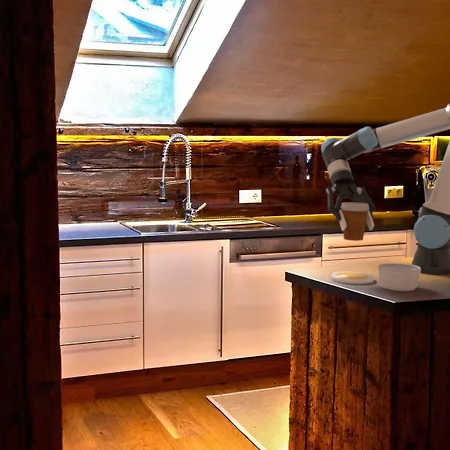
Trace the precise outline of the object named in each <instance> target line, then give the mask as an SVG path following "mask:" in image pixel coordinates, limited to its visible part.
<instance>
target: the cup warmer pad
mask: <svg viewBox="0 0 450 450" xmlns="http://www.w3.org/2000/svg"><path fill="white" fill-rule="evenodd" d="M330 277H331V278H330V280H331V281H333V282H335V283H340V284H345V285H367V284H369V285H370V284H372V283H374V282H375V281H374V279H375V276H374V275H373V274H371V273H367V272H361V271H344V270H343V271H335V272H332V273H331V276H330Z"/></svg>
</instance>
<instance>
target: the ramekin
mask: <svg viewBox="0 0 450 450" xmlns="http://www.w3.org/2000/svg"><path fill="white" fill-rule="evenodd" d="M377 269H378V278H379V279H378V280H379V284H380V286H381V287H382V288H383V289H386V290H388V291H389V290H390V291H396V292H397V291H399V292H410V291H414V290H416V289H417V288H418V286H419V280H420V275H421V268H420V267H418V266H415V265H411V264H409V263H401V262H399V263H398V262H397V263H395V262H388V263H387V262H386V263H380V264H378V267H377Z"/></svg>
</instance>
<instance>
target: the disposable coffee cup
mask: <svg viewBox="0 0 450 450" xmlns="http://www.w3.org/2000/svg"><path fill="white" fill-rule="evenodd" d="M369 209H370V208H369V205H368V204H367V203H358V202H355V201H352V202H351V201H350V202H349V201H347V202H341V204H340V210H342V212H343V215H344V218H345V221H346V225H347V226H346V228H345V230H344V231H342V232H343V233H342V234H343V240H345V241H352V242H353V241H355V242H357V241H358V242H359V241H361V242H362V241H363V240H364V236H365V229H366V225H367V222H366V220H367V214H368V211H369Z"/></svg>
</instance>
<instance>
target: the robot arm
mask: <svg viewBox="0 0 450 450" xmlns="http://www.w3.org/2000/svg"><path fill="white" fill-rule="evenodd" d="M448 130H450V103H448V104H447V106H446V107H444V108H439V109H437V110H434V111H430V112H428V113H423V114H419V115H417V116H413V117H411V118H406V119H403V120H399V121H397V122H393V123H390V124H387V125H383V126H379V127H376V128H373V129H372V127H371V126H365V127H363V128H360V129H358V130H357V131H355V132H354V133H352V134H350V135H348V136H347V137H345V138H342V139H339V138H338V137H337V138H336V137H332V138H327V139H325V140H324V141H323V142H322V144H321V148H320V150H321V153H322V154H321V155H322V158H323V161H324V163H325V166H326V169H327V172H328V176H329V179H330V182H331V185H332V186H330V185H328V186H327V187H326V189H325V194H326V196H327V213H329V214H331V213H332V215H333V217H335V220H336V222H339V225H340V228H341V231H342V232H343V231H344V230H345V228H346V226H347V225H346V221H345V218H344V215H343V212H342V210H341V205H342V201H343V199H344V200H345V199H350V200H351V201H352V202H358V203H367V204H368V205H369V208H370V209H369V211H368V214H367V220H366V225H367V228H368V230H369V231H372V230H373V228H374V226H375V223H374V221H373V220H374V215H373V213H374V212H375V210H376V208H377V207H376V205H375V203H374V202H373V201H372V198H371V197H370V196H369V194H368V192H367V190H366V186H364V185H363V186H361V187H357V185H356V184H355V179H354V176H353V173H352V171H351V168H350V164H349V160H351V159H353V158H355V157H357V156H359V155H361V154H363V153H364V154H368V153H371V152H374V151H377V150H380V149H383V148H387V147H390V146H394V145H397V144H401V143H405V142H408V141H412V140H415V139H419V138H422V137H426V136H430V135H433V134H437V133H440V132H444V131H448ZM434 182H435V183H434V186H433V189H432V191H431V194H430V196H429V197H430V198H429V200H428V201H426V202H424V203H423V204H422V205H421V206H422V207H419V211H418V215H417V216H418V218H417V221H416V222H415V223H414V225H413V236H414V237H415V240H416V242H417V244H416V245H417V246H416V251H415V252H414V255H413V259H412V261H411V264H410V265H415V266H418V267H420V268H421V272H420V274H429V275H449V274H450V141H449V142H448V145H447V147H446V151H445V154H444V156H443V160H442V161H441V165H440V168H439V171H438V174H437V175H436V179H435V181H434ZM334 193H335V194H337V198H336V203H335V202H334ZM334 203H335V205H334Z"/></svg>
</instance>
